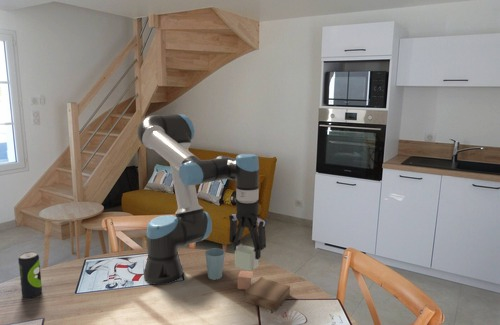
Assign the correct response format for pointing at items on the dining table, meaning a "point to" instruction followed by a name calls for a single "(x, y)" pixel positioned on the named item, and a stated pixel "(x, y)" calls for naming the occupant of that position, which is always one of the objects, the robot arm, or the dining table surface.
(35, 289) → the beverage can
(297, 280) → the dining table surface
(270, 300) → the walnut block
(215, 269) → the cup
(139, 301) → the dining table surface
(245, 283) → the terracotta cube
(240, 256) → the pale green cube
